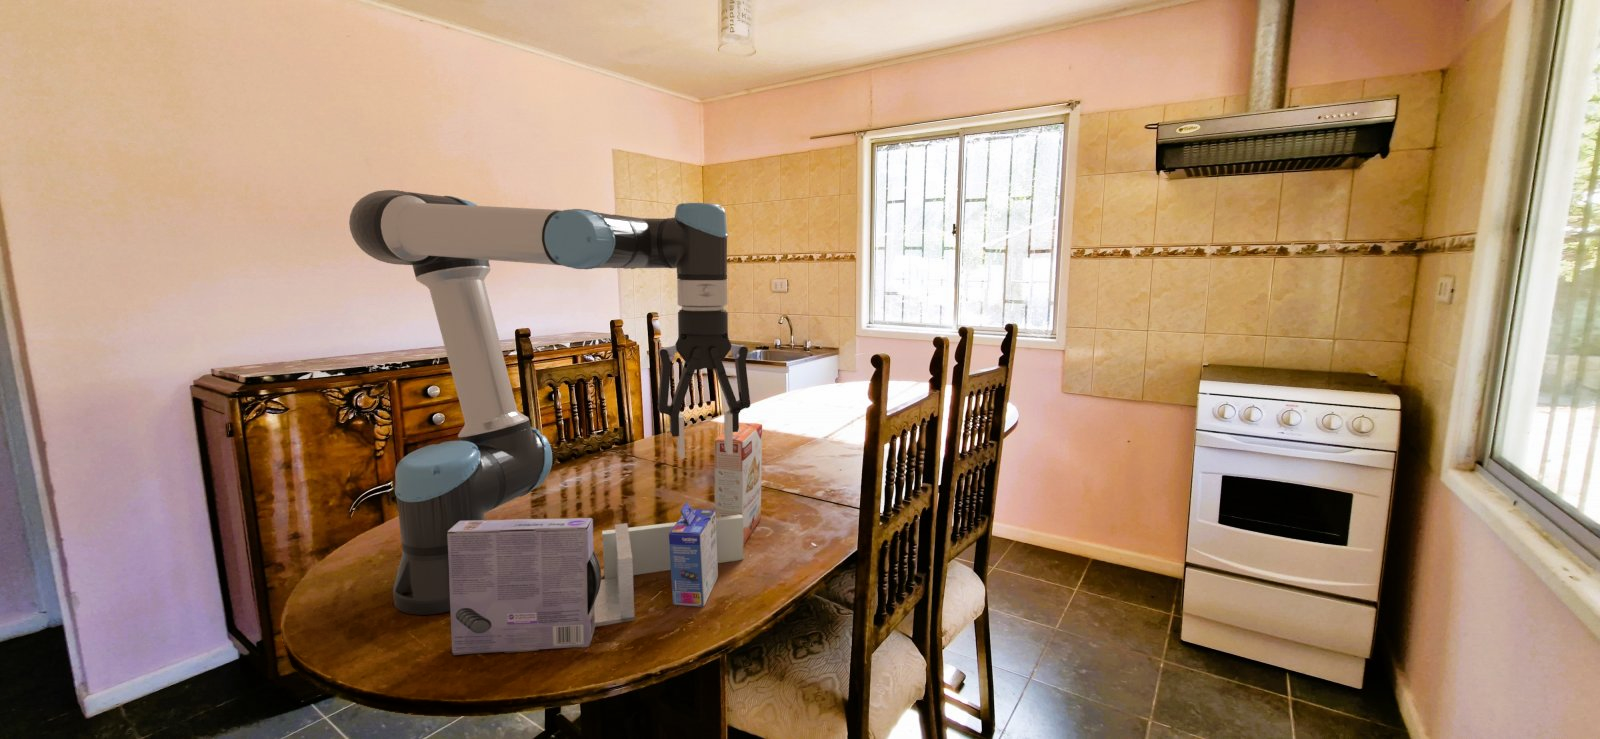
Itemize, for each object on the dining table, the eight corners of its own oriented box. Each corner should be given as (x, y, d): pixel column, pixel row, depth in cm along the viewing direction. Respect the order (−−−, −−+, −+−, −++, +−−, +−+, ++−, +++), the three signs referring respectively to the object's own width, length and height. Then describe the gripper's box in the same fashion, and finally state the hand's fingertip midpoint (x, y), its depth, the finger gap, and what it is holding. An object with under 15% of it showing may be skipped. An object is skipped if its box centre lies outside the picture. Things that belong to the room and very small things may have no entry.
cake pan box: (604, 627, 92) (598, 513, 89) (597, 648, 87) (592, 527, 84) (465, 636, 89) (455, 519, 86) (450, 658, 84) (439, 534, 81)
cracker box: (744, 549, 117) (743, 441, 114) (713, 545, 118) (712, 439, 115) (763, 519, 131) (763, 422, 127) (735, 517, 132) (734, 420, 129)
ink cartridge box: (687, 575, 107) (685, 494, 105) (718, 576, 107) (717, 496, 104) (669, 605, 98) (667, 517, 95) (704, 608, 97) (702, 519, 95)
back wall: (604, 579, 105) (602, 534, 104) (604, 575, 107) (602, 530, 106) (743, 559, 113) (743, 517, 112) (741, 555, 114) (741, 514, 113)
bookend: (577, 629, 91) (574, 565, 89) (579, 586, 103) (576, 529, 101) (634, 620, 93) (632, 557, 92) (629, 579, 106) (627, 523, 104)
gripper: (637, 310, 89) (643, 466, 92) (772, 309, 95) (771, 455, 99) (634, 307, 96) (639, 452, 99) (759, 305, 102) (759, 442, 106)
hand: (705, 453), depth 99 cm, fingers open, 7 cm apart
